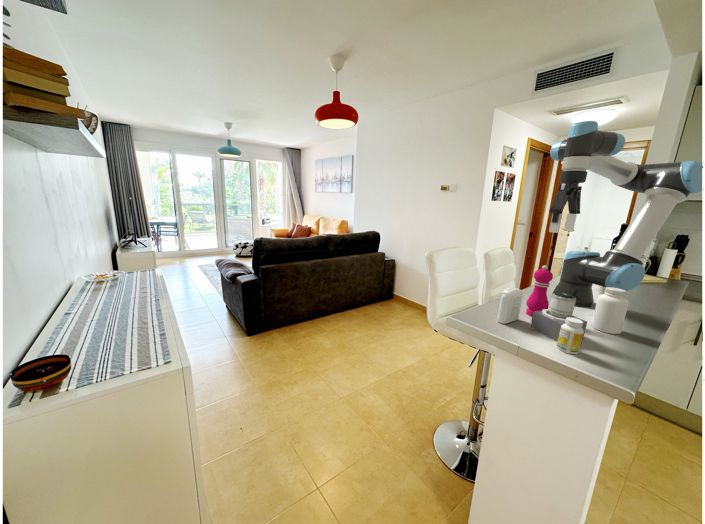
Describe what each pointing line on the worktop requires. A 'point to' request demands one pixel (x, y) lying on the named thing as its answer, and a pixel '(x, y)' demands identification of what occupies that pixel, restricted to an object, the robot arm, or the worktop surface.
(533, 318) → the grey block with ring
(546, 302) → the pepper mill
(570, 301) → the camera lens
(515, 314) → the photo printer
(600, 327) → the pill bottle
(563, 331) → the supplement bottle
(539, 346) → the worktop surface
